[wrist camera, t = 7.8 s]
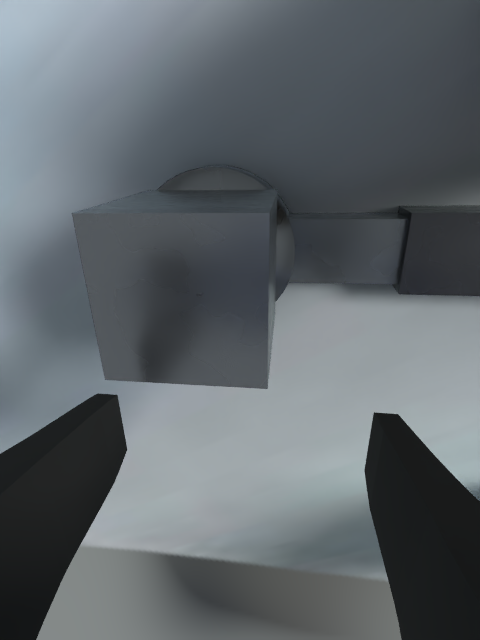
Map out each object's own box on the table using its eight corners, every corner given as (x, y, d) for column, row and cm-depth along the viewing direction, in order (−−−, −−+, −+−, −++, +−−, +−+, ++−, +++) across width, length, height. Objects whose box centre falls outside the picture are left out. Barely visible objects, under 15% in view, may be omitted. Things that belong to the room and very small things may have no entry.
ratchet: (617, 157, 15) (739, 161, 11) (559, 318, 18) (638, 369, 14) (143, 166, 17) (97, 172, 13) (160, 307, 20) (126, 348, 16)
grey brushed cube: (277, 189, 15) (269, 213, 10) (275, 313, 17) (267, 389, 12) (147, 190, 16) (71, 213, 10) (161, 309, 18) (105, 379, 13)
